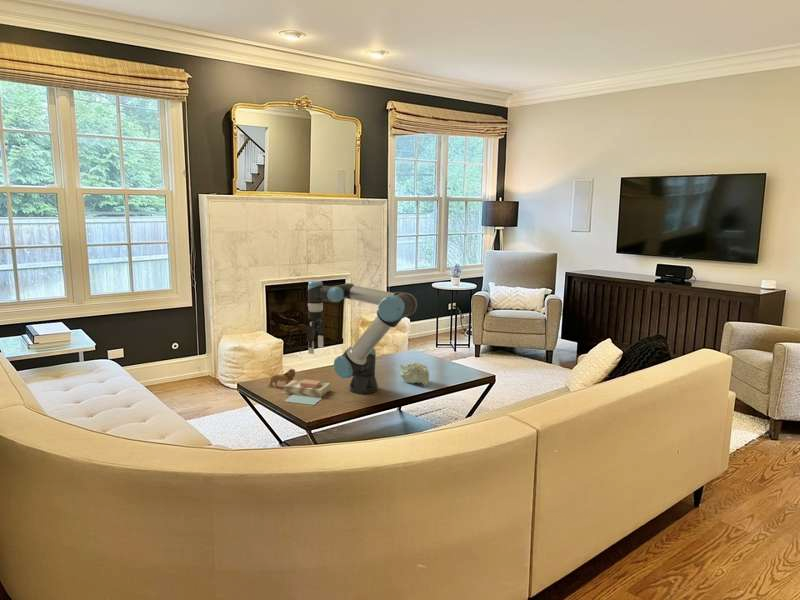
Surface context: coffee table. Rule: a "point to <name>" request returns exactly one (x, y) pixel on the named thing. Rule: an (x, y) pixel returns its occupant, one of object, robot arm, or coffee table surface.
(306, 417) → the coffee table surface
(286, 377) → the lion figurine
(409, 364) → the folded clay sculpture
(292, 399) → the mat
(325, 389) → the plate
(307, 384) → the tile
